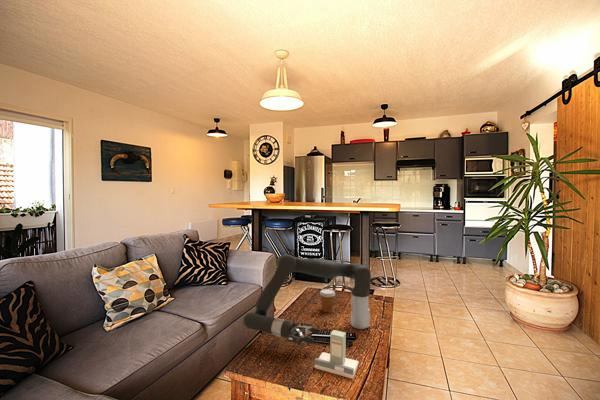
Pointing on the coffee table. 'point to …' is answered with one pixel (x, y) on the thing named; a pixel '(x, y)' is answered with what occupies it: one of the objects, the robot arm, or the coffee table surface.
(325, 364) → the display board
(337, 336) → the tea box
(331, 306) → the disposable coffee cup
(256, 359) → the coffee table surface
